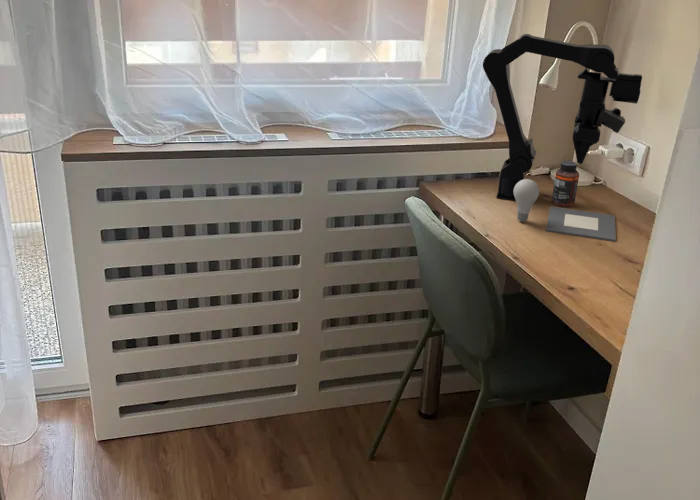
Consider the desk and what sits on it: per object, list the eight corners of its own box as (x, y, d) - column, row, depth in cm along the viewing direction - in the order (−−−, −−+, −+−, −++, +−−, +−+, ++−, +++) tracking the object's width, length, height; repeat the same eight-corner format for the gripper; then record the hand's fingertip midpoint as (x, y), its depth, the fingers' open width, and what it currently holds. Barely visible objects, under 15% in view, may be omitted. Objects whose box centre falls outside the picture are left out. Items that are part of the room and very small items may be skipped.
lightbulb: (536, 219, 173) (543, 178, 168) (531, 228, 168) (538, 185, 163) (512, 215, 175) (518, 174, 170) (506, 223, 170) (512, 181, 165)
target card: (545, 231, 166) (545, 228, 166) (549, 208, 180) (550, 206, 180) (615, 241, 162) (615, 239, 162) (614, 217, 176) (614, 215, 176)
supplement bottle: (571, 200, 186) (579, 160, 181) (576, 208, 181) (583, 167, 176) (549, 198, 187) (556, 158, 182) (553, 206, 181) (559, 165, 176)
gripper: (628, 111, 161) (613, 174, 167) (626, 94, 177) (612, 153, 183) (579, 104, 163) (566, 167, 170) (581, 89, 179) (569, 146, 186)
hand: (580, 158), depth 177 cm, fingers open, 9 cm apart
